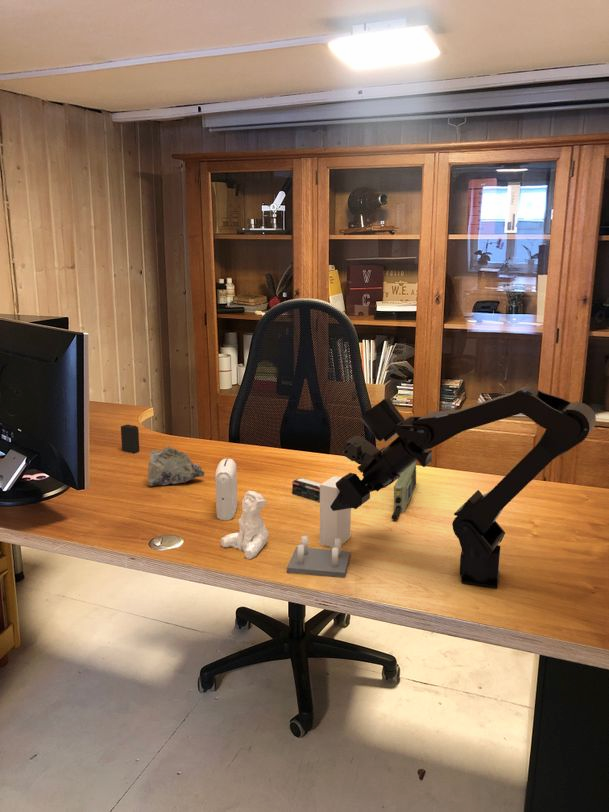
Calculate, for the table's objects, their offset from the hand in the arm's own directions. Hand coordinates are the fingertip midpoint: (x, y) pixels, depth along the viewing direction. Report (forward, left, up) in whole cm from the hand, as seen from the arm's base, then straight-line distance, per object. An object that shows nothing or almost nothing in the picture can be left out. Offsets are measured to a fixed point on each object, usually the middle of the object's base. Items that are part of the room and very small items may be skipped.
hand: (342, 501), depth 136 cm
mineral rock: (+51, -20, -9) cm, 55 cm away
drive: (+2, 0, -9) cm, 9 cm away
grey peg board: (+2, +11, -9) cm, 14 cm away
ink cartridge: (+77, -40, -9) cm, 87 cm away
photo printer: (+30, -7, -9) cm, 32 cm away
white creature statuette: (+18, +8, -9) cm, 21 cm away
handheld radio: (-8, -26, -10) cm, 29 cm away
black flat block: (+13, -23, -10) cm, 29 cm away
